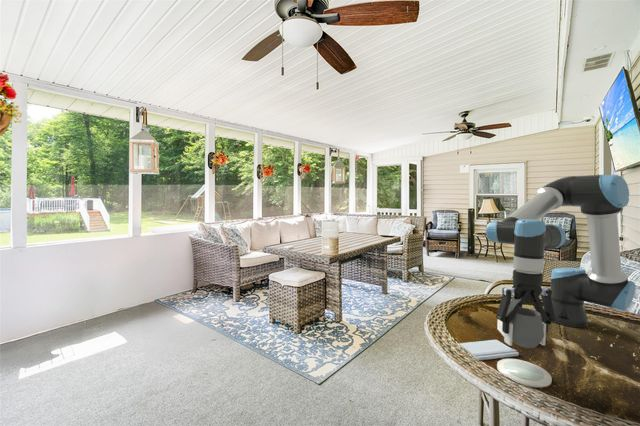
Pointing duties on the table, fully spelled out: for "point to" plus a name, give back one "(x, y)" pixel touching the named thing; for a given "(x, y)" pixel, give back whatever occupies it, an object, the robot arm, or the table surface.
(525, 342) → the cup
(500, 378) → the table surface
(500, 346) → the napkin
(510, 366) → the saucer
